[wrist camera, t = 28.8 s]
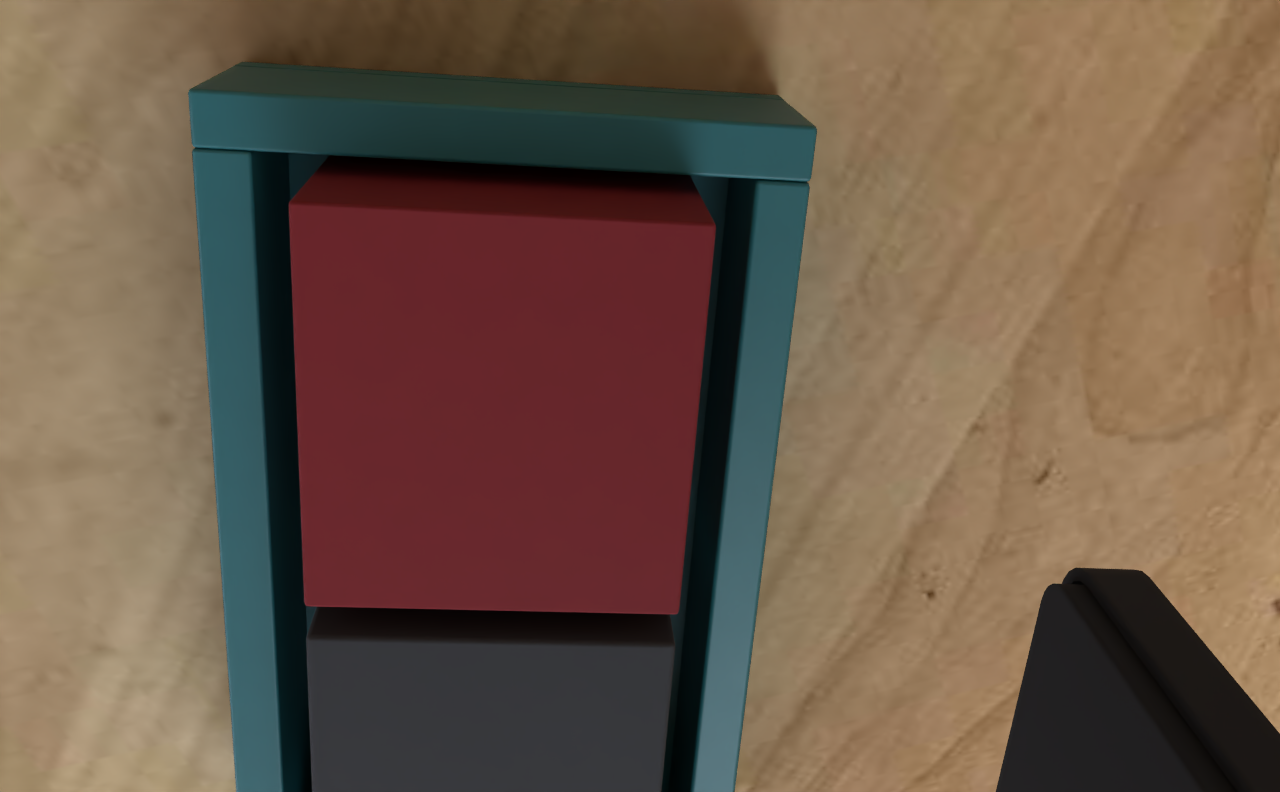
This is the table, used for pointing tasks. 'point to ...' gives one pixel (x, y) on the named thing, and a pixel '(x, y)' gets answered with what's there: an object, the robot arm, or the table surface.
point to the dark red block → (497, 384)
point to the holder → (502, 135)
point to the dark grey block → (488, 700)
